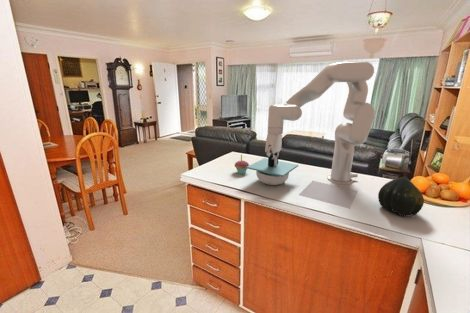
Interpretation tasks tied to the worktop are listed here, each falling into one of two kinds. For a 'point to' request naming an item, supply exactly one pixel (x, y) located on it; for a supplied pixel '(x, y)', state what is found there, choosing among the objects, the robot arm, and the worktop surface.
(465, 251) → the worktop surface
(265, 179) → the cereal bowl
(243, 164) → the cupcake
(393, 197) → the squash
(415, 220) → the worktop surface
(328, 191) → the mat
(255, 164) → the lid
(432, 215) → the worktop surface
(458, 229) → the worktop surface
